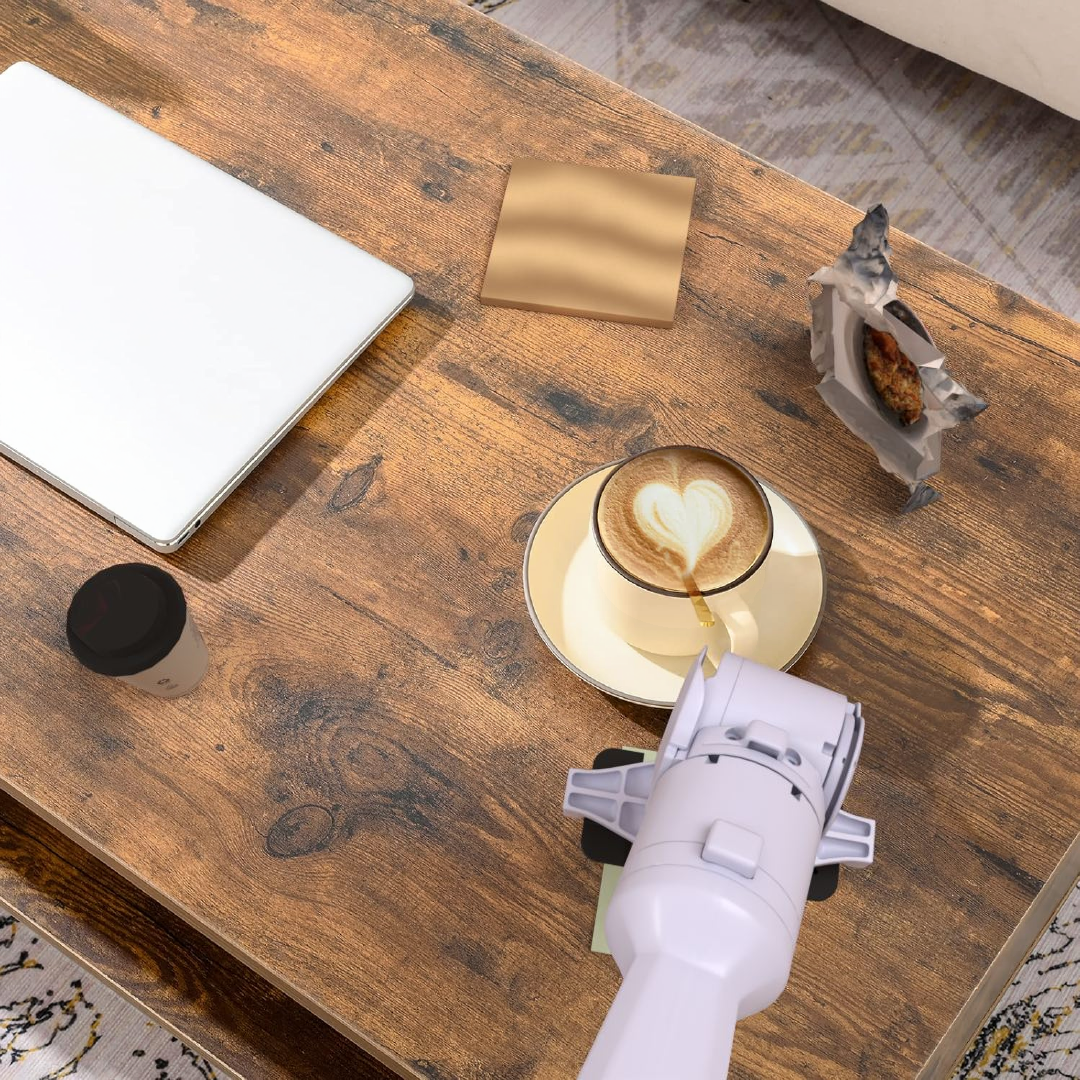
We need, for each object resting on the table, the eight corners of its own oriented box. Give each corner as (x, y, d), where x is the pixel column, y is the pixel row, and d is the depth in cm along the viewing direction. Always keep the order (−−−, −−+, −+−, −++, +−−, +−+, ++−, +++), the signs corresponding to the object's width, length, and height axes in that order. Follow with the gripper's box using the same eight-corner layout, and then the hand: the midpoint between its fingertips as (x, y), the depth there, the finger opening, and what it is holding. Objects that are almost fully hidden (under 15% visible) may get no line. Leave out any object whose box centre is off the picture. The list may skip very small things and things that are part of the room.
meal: (951, 494, 77) (1020, 392, 65) (895, 519, 76) (953, 420, 64) (837, 322, 83) (881, 199, 71) (784, 344, 82) (819, 224, 70)
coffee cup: (236, 614, 75) (189, 555, 66) (218, 719, 72) (165, 672, 63) (132, 609, 76) (70, 549, 66) (109, 713, 73) (41, 665, 64)
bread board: (672, 329, 83) (673, 321, 82) (481, 304, 84) (480, 296, 83) (695, 186, 88) (696, 177, 87) (514, 165, 89) (513, 156, 88)
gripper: (903, 734, 51) (840, 795, 64) (579, 681, 53) (580, 750, 65) (893, 898, 48) (830, 927, 61) (552, 837, 50) (558, 878, 62)
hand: (700, 845), depth 63 cm, fingers closed on toy figure, 7 cm apart
